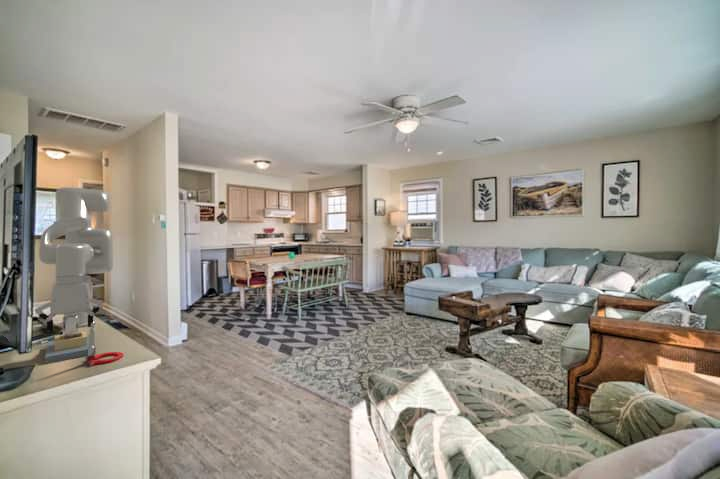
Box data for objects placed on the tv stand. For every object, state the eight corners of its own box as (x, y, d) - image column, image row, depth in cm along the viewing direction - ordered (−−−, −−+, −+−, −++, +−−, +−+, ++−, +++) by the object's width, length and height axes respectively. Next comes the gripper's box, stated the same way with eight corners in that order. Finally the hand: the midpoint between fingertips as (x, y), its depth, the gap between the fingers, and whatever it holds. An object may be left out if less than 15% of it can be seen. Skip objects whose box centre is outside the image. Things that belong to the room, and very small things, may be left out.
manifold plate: (47, 347, 110) (47, 333, 110) (91, 339, 118) (91, 326, 118) (45, 363, 97) (45, 347, 97) (95, 353, 105) (95, 339, 105)
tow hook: (119, 353, 107) (84, 360, 100) (121, 316, 108) (86, 320, 100) (126, 360, 102) (89, 368, 95) (128, 321, 102) (92, 325, 95)
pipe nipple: (62, 344, 108) (62, 316, 108) (78, 341, 111) (78, 314, 110) (62, 347, 105) (62, 318, 105) (78, 344, 108) (78, 316, 107)
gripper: (102, 276, 116) (102, 322, 116) (35, 281, 104) (35, 331, 104) (104, 279, 111) (104, 326, 111) (33, 284, 99) (34, 337, 99)
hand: (70, 329), depth 108 cm, fingers open, 9 cm apart
